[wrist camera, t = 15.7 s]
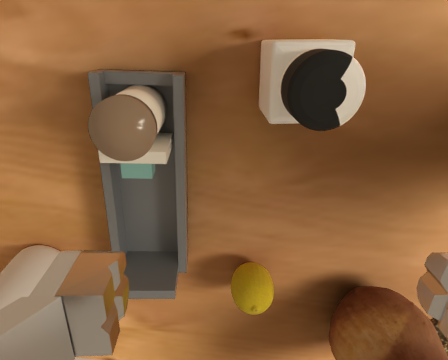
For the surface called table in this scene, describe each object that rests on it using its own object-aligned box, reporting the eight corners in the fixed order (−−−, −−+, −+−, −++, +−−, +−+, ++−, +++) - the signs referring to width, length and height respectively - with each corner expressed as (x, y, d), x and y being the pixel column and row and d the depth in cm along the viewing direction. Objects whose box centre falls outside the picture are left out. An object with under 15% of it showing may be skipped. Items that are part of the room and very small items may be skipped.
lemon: (275, 261, 45) (288, 305, 38) (253, 287, 47) (260, 333, 40) (243, 244, 44) (250, 286, 36) (221, 271, 45) (223, 316, 38)
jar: (166, 82, 33) (152, 96, 25) (170, 132, 36) (157, 160, 27) (114, 82, 33) (82, 96, 25) (120, 133, 35) (93, 161, 27)
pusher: (173, 133, 35) (165, 152, 30) (173, 160, 37) (167, 183, 31) (116, 131, 35) (98, 150, 29) (119, 159, 36) (102, 182, 31)
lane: (185, 71, 34) (178, 81, 27) (188, 254, 44) (183, 298, 37) (99, 69, 34) (68, 78, 26) (121, 254, 43) (104, 298, 36)
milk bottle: (3, 261, 43) (-147, 426, 25) (43, 233, 42) (-87, 387, 23) (47, 296, 46) (-59, 467, 28) (86, 270, 44) (0, 434, 26)
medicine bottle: (258, 108, 36) (279, 141, 25) (260, 39, 33) (285, 42, 22) (320, 107, 36) (368, 139, 25) (328, 38, 33) (386, 41, 22)
